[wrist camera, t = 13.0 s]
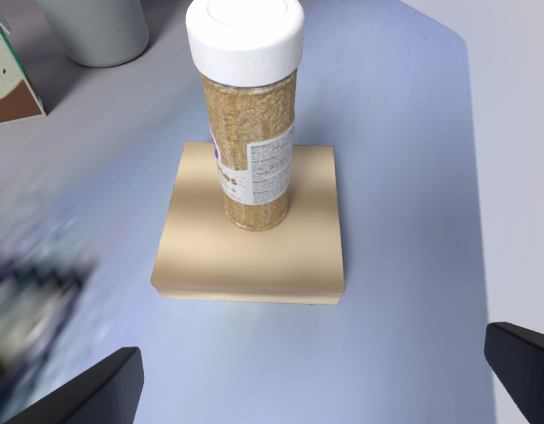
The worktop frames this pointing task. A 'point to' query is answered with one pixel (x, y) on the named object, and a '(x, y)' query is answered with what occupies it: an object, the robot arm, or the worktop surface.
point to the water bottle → (98, 29)
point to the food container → (15, 85)
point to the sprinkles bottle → (250, 99)
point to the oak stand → (252, 237)
